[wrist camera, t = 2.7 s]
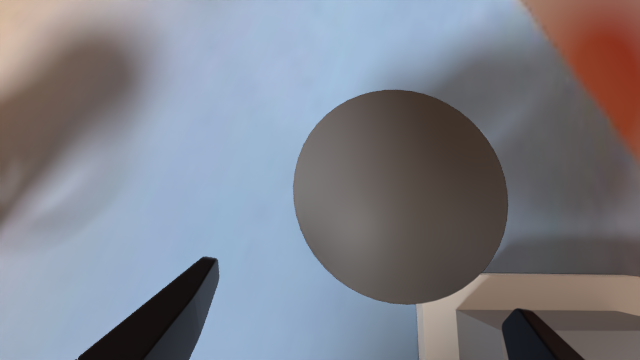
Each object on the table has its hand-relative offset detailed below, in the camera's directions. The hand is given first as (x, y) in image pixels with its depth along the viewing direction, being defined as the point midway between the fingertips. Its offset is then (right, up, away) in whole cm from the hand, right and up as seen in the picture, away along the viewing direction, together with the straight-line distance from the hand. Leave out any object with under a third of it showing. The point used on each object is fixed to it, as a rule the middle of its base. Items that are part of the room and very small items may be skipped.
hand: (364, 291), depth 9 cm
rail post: (0, +1, +10) cm, 10 cm away
